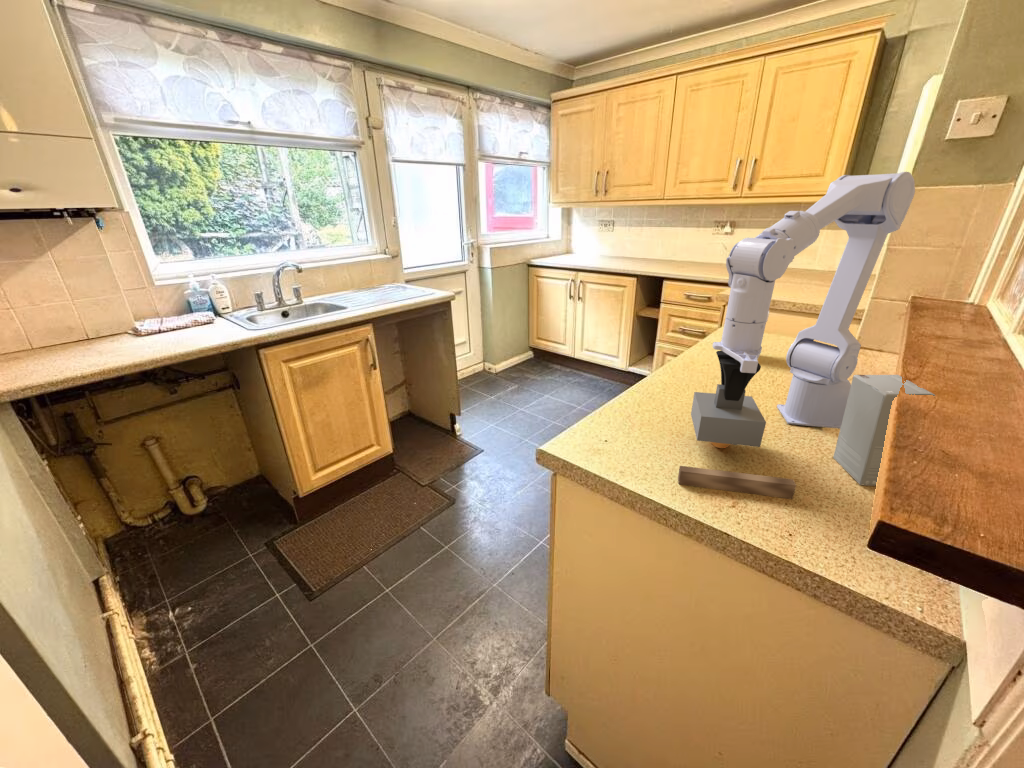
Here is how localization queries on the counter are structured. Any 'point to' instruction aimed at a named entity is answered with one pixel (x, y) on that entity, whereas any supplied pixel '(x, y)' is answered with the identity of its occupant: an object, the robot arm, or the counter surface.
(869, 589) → the counter surface
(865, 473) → the skincare box
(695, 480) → the stopper
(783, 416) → the robot arm
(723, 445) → the ball
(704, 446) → the counter surface
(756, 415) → the grey stemmed block
